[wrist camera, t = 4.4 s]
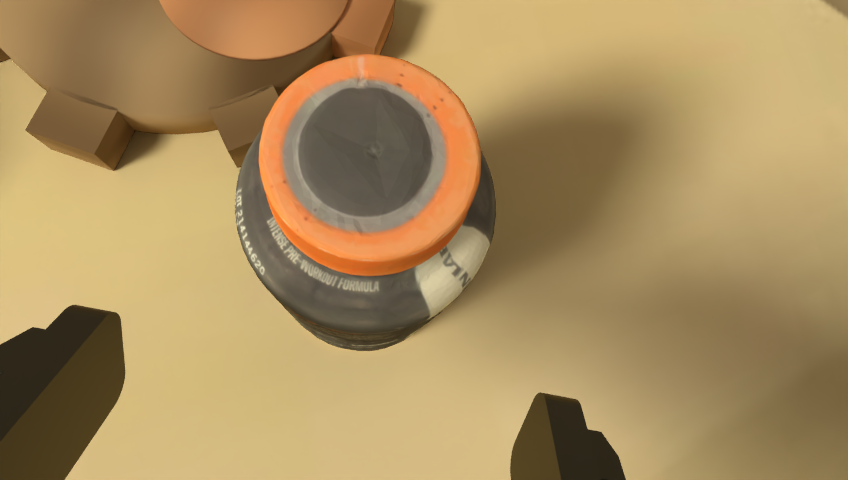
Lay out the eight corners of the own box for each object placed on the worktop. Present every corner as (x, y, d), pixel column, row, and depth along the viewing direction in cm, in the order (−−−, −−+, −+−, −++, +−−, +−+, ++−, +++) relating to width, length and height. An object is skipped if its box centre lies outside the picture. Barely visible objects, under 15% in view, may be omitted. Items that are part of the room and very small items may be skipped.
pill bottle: (473, 296, 21) (602, 210, 10) (334, 384, 20) (307, 396, 9) (390, 166, 22) (425, -46, 11) (252, 241, 20) (131, 88, 9)
